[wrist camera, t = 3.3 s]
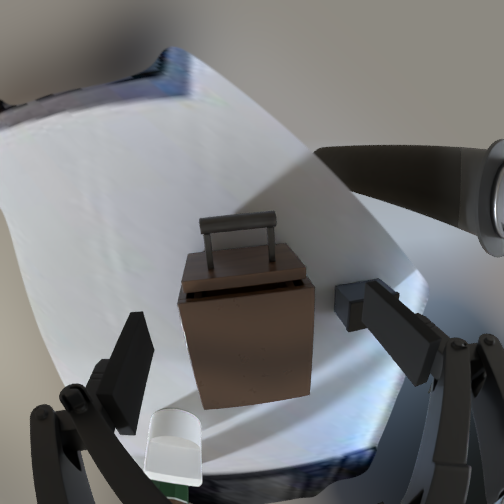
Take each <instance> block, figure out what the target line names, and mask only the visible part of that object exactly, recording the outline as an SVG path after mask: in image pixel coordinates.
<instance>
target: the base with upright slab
mask: <svg viewBox="0 0 504 504" xmlns="http://www.w3.org/2000/svg"><path fill="white" fill-rule="evenodd" d="M143 472H144V473H145V474H146V475H147V476H148V478H149V479H152V480H157V481H163V482H169V483H175V484H182V485H190V486H198V487H199V486H200V485H201V484H202V455H201V423H200V421H199V419H198V418H197V417H196V416H194V415H193V414H191V413H189V412H187V411H183V410H180V409H162V410H159V411H157V412H155V413H154V414H153V415H152V417H151V420H150V426H149V433H148V440H147V446H146V454H145V461H144V469H143Z"/></svg>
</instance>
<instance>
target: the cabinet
mask: <svg viewBox="0 0 504 504" xmlns="http://www.w3.org/2000/svg"><path fill="white" fill-rule="evenodd" d="M292 282H293V284H294V285H295V286H293V287H286V288H278V289H271V290H263V291H255V292H247V293H238V294H230V295H221V296H212V297H203V298H194V295H195V292H191V293H183V289H182V284H181V289H180V293H179V298H178V303H177V306H178V310H179V315H180V320H181V324H182V328H183V333H184V337H185V341H186V345H187V349H188V353H189V357H190V361H191V365H192V369H193V373H194V377H195V380H196V384H197V388H198V391H199V395H200V398H201V402H202V405H203V408H204V410H209V409H220V408H230V407H239V406H247V405H255V404H262V403H268V402H274V401H280V400H286V399H291V398H297V397H302V396H307V395H310V385H311V371H312V354H313V334H314V305H315V287H314V285H313V284H312V282H311V281H310V280H309V278H308V277H307V276H306V279H300V280H293V281H292Z"/></svg>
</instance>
